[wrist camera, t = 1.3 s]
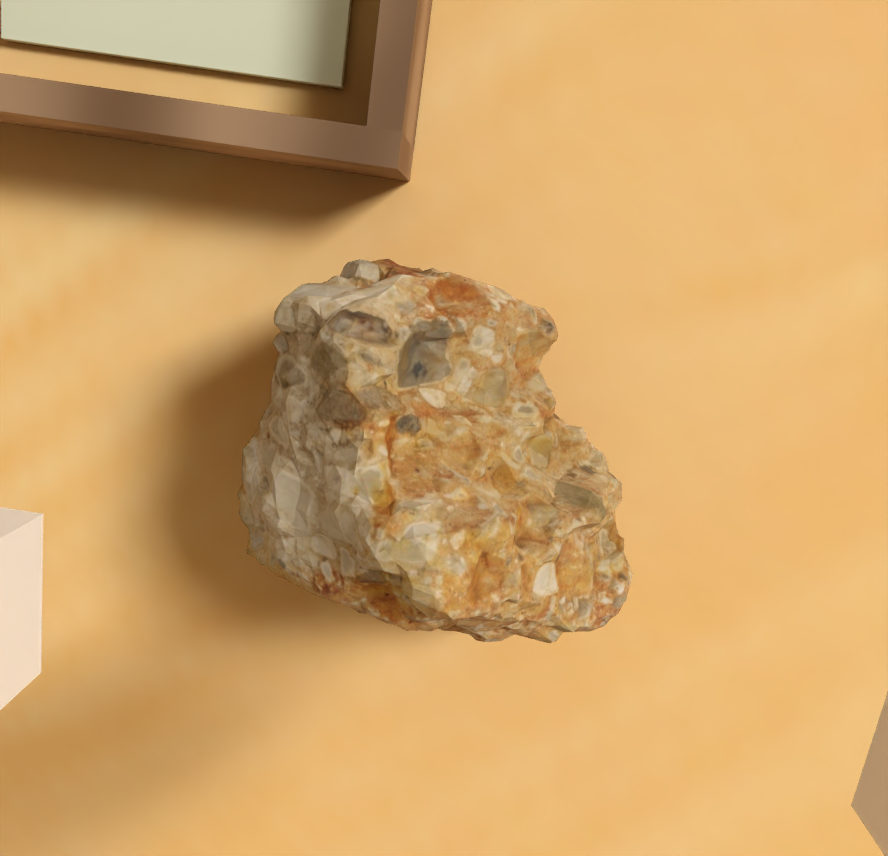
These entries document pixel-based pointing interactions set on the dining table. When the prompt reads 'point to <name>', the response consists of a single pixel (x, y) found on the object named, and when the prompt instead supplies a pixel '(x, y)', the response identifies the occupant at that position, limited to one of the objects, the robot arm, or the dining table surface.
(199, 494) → the dining table surface
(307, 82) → the pad
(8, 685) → the robot arm
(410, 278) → the rock
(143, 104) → the brown wooden tray
